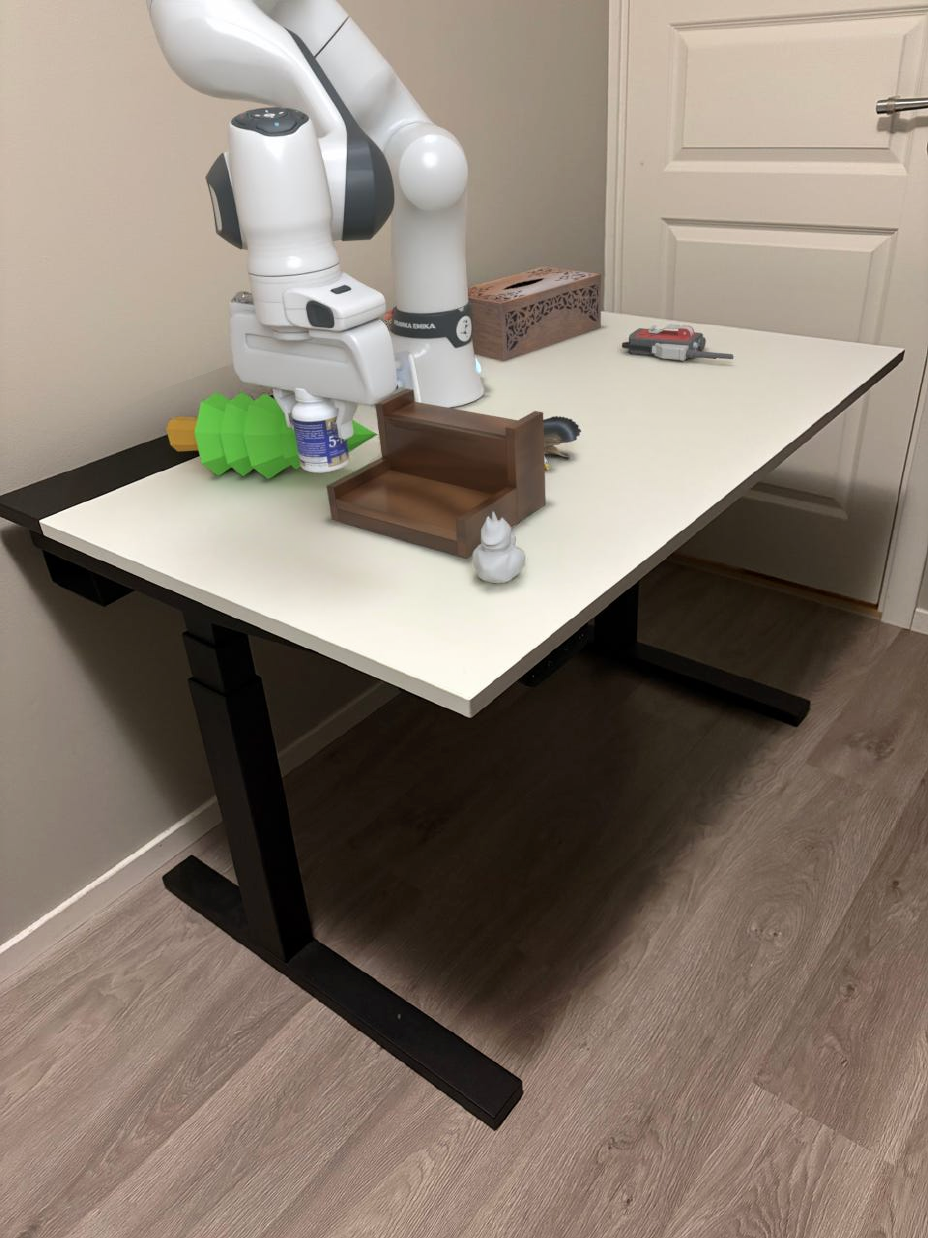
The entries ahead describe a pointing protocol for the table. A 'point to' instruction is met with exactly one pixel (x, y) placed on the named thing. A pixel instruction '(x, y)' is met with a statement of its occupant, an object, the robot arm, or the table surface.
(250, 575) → the table surface
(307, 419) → the pill bottle
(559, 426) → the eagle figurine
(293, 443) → the decorative tree
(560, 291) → the tissue box cover
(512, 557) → the rubber duck
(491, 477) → the shelf
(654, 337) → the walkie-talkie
